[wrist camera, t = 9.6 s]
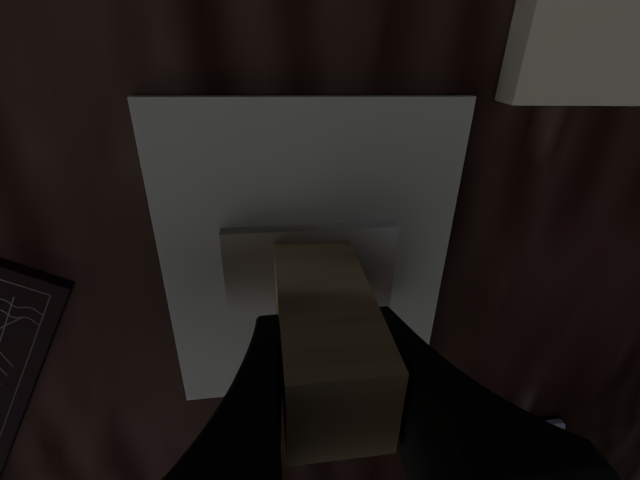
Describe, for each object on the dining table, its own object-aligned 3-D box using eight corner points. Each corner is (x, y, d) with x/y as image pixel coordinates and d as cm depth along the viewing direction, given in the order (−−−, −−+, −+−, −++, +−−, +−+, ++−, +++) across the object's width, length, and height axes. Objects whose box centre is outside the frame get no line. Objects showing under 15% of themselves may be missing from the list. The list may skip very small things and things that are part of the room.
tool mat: (420, 371, 21) (422, 376, 21) (188, 393, 20) (186, 400, 19) (470, 95, 15) (476, 96, 14) (130, 94, 13) (127, 97, 13)
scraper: (385, 299, 18) (460, 455, 11) (229, 311, 17) (212, 487, 11) (394, 220, 16) (490, 351, 10) (220, 228, 15) (192, 379, 9)
